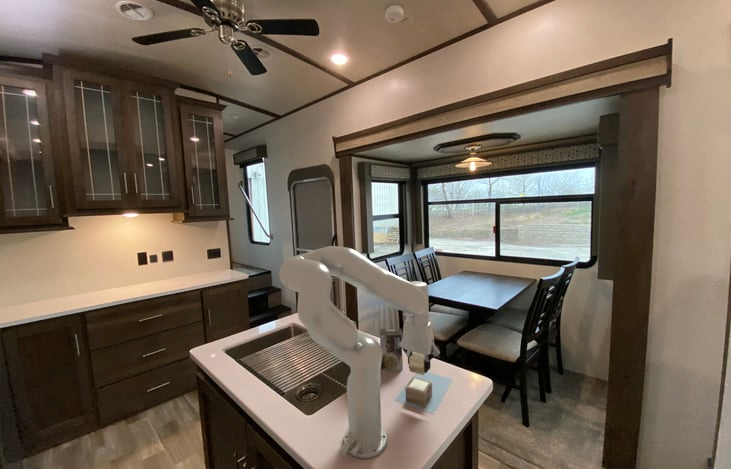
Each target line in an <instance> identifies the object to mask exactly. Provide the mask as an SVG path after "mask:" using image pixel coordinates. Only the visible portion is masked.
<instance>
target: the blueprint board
mask: <svg viewBox="0 0 731 469" xmlns="http://www.w3.org/2000/svg"><path fill="white" fill-rule="evenodd" d="M452 382H453V378H450V377H447V376H443V375H440V374H435V373H433V372H429V371H427V373H425V374H424V375H421V374H417V373H414V374H413V376H412V377H411V378H410V380H409V381H408V383H407V384H405V386H404V387H403V389H402V390H401V391H400V392H399V394H398V395H397V396H396V397H395V399H394V401H396V402H398V403H401V404H404V405H407V406H410V407H413V408H414V409H417V410H420V411H423V412H426V413H428V414H430V415H434V414H435V413H436V411H437V410H438V407H439V406H440V404H441V402H442V400H443V399H444V397H445V394H446V393H447V392H448V389H449V387H450V386H451V384H452Z"/></svg>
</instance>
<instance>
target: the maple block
mask: <svg viewBox="0 0 731 469" xmlns="http://www.w3.org/2000/svg"><path fill="white" fill-rule="evenodd" d="M412 353H413V354H412V355H411V356H410V357H409V364H408V367H409V366H410V368H409V372H411V373H414V374H416V373H417V374H421V375H424V374H425V372H424V361H425V357H424V354H420V353H416V352H412Z"/></svg>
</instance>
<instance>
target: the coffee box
mask: <svg viewBox="0 0 731 469" xmlns="http://www.w3.org/2000/svg"><path fill="white" fill-rule="evenodd" d="M402 338H403V336H402V328H380V331H379V344H380V346H381V348H382V362H381V368H380V372H381V371H403V370H404V367H403V366H404V364H403V363H404V362H403V349H402V348H401V347H400V346H399V343H400V342H401V341H402Z"/></svg>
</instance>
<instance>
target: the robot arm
mask: <svg viewBox="0 0 731 469" xmlns="http://www.w3.org/2000/svg"><path fill="white" fill-rule="evenodd" d="M278 275H279V280H280V282H281V283H282V284H283V286H284V287H286V288H288V289H289V290H292V291H295V292H297V293H298V300H297V316H298V319H299V322H301V323H302V325H303V326H304V327H305V328H306V330H307V333H308V336H309V337H310V338H311V339H312V340H313V341H314V342H315V343H317V344H318V345H319V346H321V347H322V348H323V349H324V350H325V351H326V352H328V353H329V354H331V355H332V356H334V357H335V358H337V359H338V360H340V361H342V362H343V363H345V364H346V365H347V366H349V368H350V374H349V375H348V377H347V382H346V394H347V396H346V397H347V398H346V399H347V415H348V416H347V419H348V428H347V429H346V431H345V432H344V436H343V445H342V446H341V448H340V449H339V454H340V455H341V456H342V457H346V455H347V454H350V455H351V456H352V457H355V458H357V459H358V458H359V459H370V458H374V457H376V456H378V455H380V454H381V453H382V452H383V451H384V450H385V449H386V447H387V444H388V443H387V442H388V435H387V432H386V431H385V429H384V428H383V426H382V412H381V411H382V410H381V409H382V408H381V407H382V406H381V386H380V374H381V362H382V348H381V346H380V342H378V341H377V340H376V339H374V338H373V337H372V336H370V335H368V334H365V333H363V332H361V331H359V330H358V328H357V327H356V324H354V322H353V321H352V320H351V319H350V318H349V317H348V316H347V315H346V314H344V313H343V312H342V311H341V310H340V309H339V308H338V307H336V305H335V304H334V303H333V302H332V300H331V291H332V290H331V289H332V285H333V283H332V282H333V279H332V277H334V278H335V277H336V278H338V279H341V281H343V282H346V283H347V284H349V285H352V286H353V287H355V288H357V289H358V290H360V291H362V292H364V293H365V294H367V295H369V296H372V297H374V298H377V299H379V300H383V301H384V302H385V304H386V305H387V307H389V308H392V309H395V310H398V311H401V312H403V314H402V316H403V317H405V320H404V323H403V328H402V341H401V342H400V343H399V346H400V347H401V348H402V352H404V353H405V355H406V358H407V364H408V368H409V369H410V366H409V357H410V356H411V355H412V354H413V353H414V352H416V353H420V354H424V357H425V361H424V372H425V373H427V372H429V371H430V369H431V360H433V359H434V358H436V357H438V356H439V355H440V353H441V351H440V350H439V348H438V347H437V346H436V344H435V339H434V332H433V326H432V323H431V321H430V314H429V312H430V311H429V306H430V304H429V286H428V284H427V283H426V282H425V281H424V282H423V281H420V280H418V281H417V280H412V281H408V280H406V279H404V278H402V277H400V276H398V275H395V274H394V273H393V272H391V271H388V270H386V269H384V268H382V267H380V266H379V265H378V264H377V263H375V262H373V261H371V260H370V259H369V258H367V257H366V256H364V255H363V254H362V253H360V252H359V251H357V250H356V249H353V248H350V247H345V246H344V247H343V246H337V245H335V246H334V245H329V246H325V247H322V248H318V249H314V250H311V251H307V252H304V253H301V254H297V255H295V256H291V257H289V258H287V259H286V260H285V261H284V262H283V263H282V265H281V266H280V269H279V274H278ZM432 351H433V352H432Z"/></svg>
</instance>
